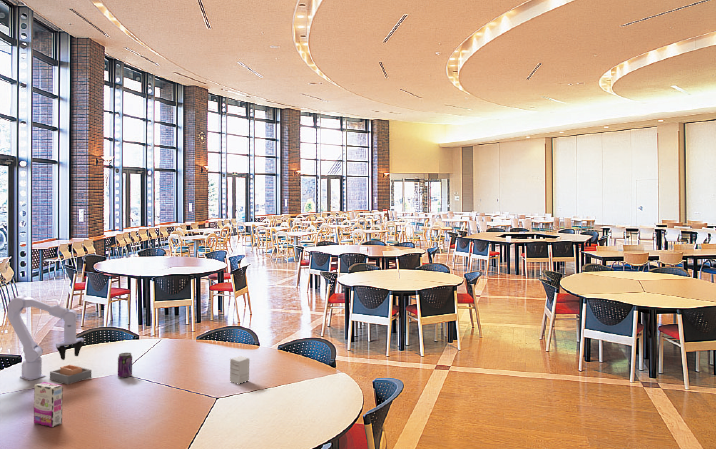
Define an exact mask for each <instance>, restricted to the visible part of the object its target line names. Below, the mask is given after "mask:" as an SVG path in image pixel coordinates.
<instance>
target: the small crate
mask: <svg viewBox="0 0 716 449" xmlns="http://www.w3.org/2000/svg"><path fill="white" fill-rule="evenodd" d="M81 367H82V366H78V367H77V365H73V364H68V365H67V364H66V365H63V366H60V368H59V369H60V374H63V375H67V376H70V375H74V374H77V373H81V372H82V368H83V367H82V368H81Z"/></svg>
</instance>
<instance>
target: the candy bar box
mask: <svg viewBox="0 0 716 449" xmlns="http://www.w3.org/2000/svg"><path fill="white" fill-rule="evenodd" d="M33 389H34V392H33V393H34V394H33V400H34V401H33V423H34V424H36V423H38V424H37V425H40V424H41V425H40V426H44V425H45V427H48V426H49V428H55V427H57V426H60V425H62V424H63V395H64V394H63V391H64V390H63V389H64V388H63V385H62V384H57V383H52V382H47V381H44V382H39V383H37V384H36V383H35V384H34V388H33ZM54 426H55V427H54Z"/></svg>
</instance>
